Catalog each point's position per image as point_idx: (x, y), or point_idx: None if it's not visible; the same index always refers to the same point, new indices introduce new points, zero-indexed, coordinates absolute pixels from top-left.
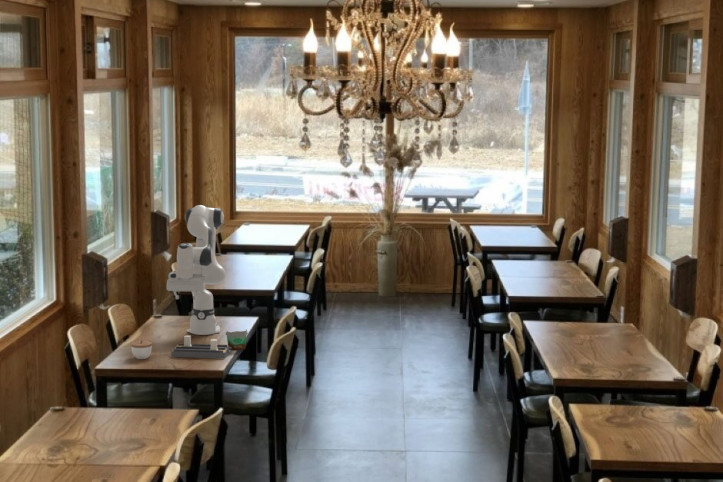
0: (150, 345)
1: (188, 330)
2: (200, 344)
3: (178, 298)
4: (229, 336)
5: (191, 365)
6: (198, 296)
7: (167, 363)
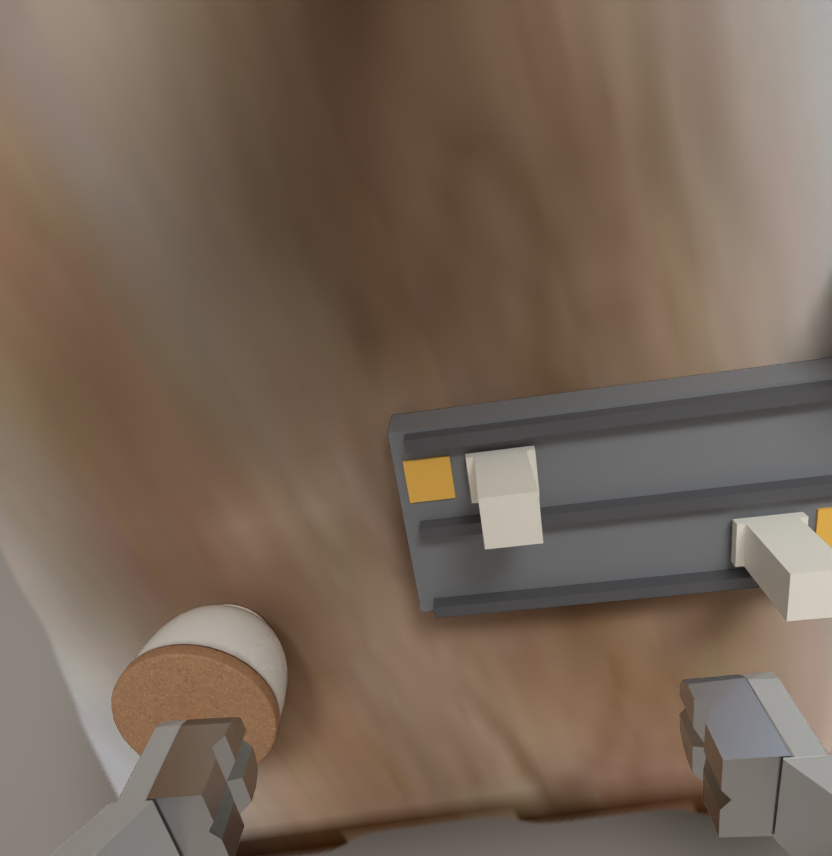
0: (278, 724)
1: None
2: (614, 426)
3: (240, 747)
4: None
5: (624, 727)
6: None
7: (456, 716)
